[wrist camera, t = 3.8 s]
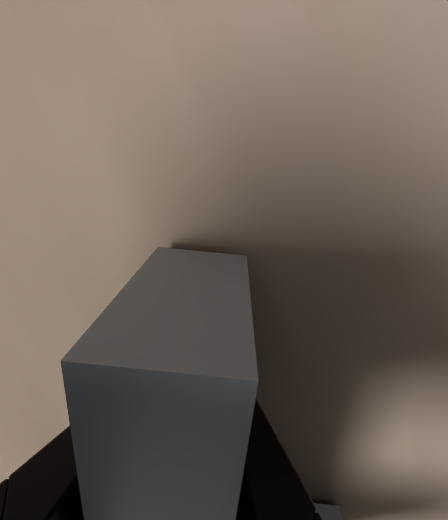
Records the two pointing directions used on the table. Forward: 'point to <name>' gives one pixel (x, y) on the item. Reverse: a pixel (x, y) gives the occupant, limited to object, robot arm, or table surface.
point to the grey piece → (167, 393)
